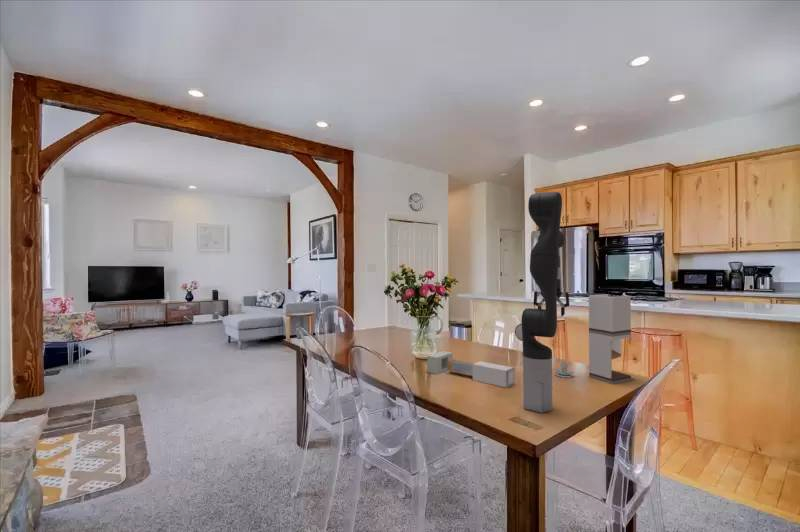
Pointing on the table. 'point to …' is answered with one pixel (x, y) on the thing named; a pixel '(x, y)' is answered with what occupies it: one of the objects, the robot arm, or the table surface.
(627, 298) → the grey notched tower
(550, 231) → the robot arm
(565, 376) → the pacifier
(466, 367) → the steel tube
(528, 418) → the table surface
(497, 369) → the grey sleeve
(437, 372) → the socket block
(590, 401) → the table surface
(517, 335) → the magnifying glass
